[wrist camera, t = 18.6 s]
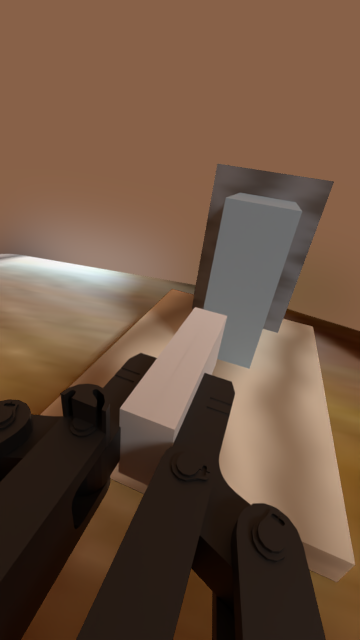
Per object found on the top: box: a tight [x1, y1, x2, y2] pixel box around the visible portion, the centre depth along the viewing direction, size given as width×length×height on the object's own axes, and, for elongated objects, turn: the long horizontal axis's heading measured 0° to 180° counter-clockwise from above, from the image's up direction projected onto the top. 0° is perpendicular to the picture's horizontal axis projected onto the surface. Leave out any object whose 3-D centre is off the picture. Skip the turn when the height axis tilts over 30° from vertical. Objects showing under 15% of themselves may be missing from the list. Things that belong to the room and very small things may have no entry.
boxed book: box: [203, 193, 302, 369], centre depth 25 cm, size 5×8×13 cm, turn 162°
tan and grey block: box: [40, 164, 355, 582], centre depth 21 cm, size 18×24×17 cm
